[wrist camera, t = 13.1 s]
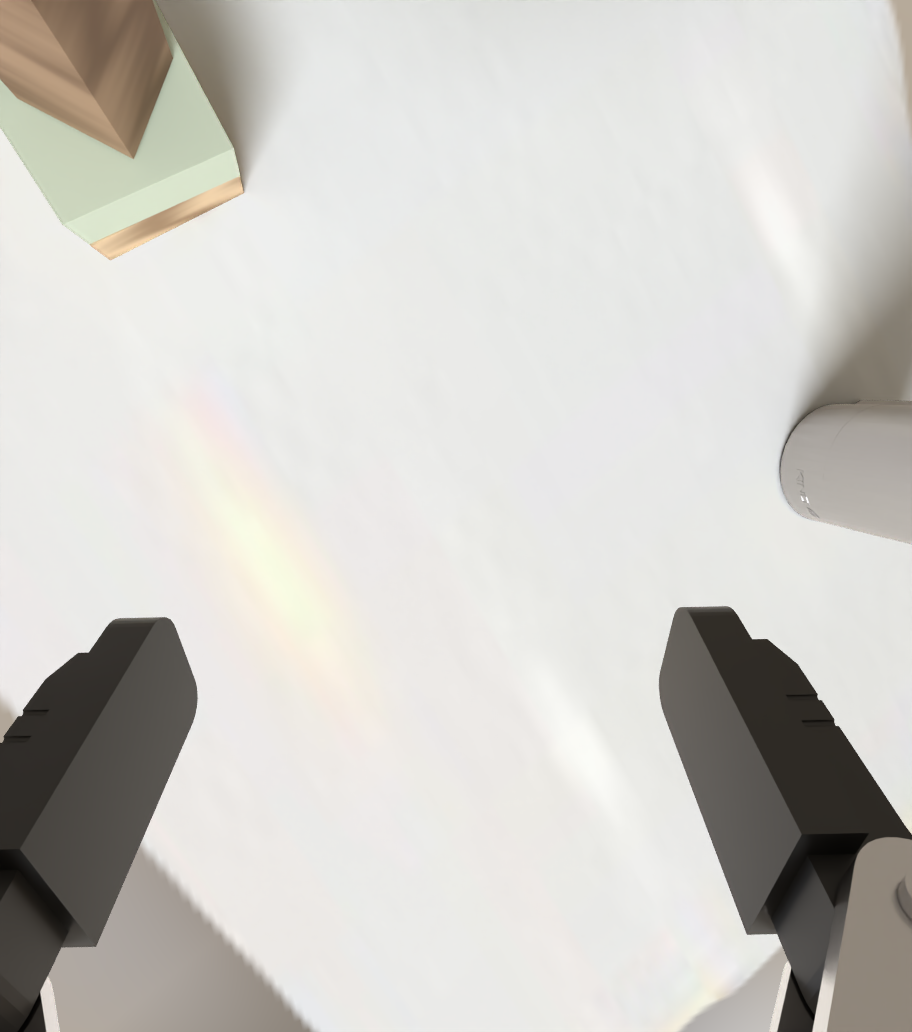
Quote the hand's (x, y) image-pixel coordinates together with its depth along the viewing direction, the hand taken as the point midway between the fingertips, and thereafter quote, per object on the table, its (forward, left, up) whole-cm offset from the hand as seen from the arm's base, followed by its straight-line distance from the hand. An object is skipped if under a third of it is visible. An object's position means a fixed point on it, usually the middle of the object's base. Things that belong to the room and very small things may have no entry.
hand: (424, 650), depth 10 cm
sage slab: (0, -19, -25) cm, 32 cm away
